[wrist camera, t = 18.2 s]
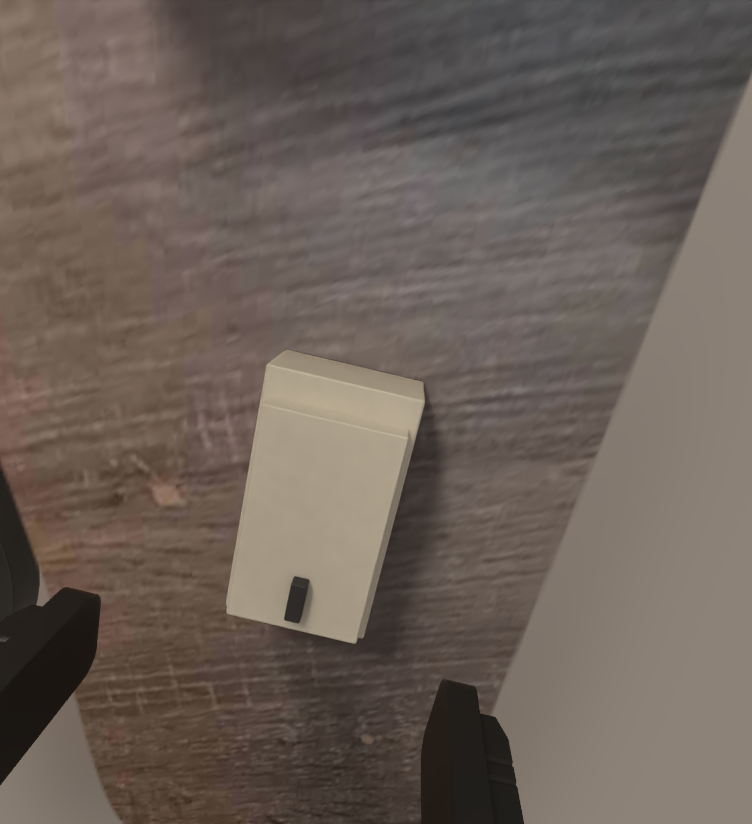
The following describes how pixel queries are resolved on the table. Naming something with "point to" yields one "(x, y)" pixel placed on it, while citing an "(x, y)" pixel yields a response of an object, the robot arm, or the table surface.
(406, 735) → the table surface
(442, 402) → the table surface
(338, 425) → the white power adapter
